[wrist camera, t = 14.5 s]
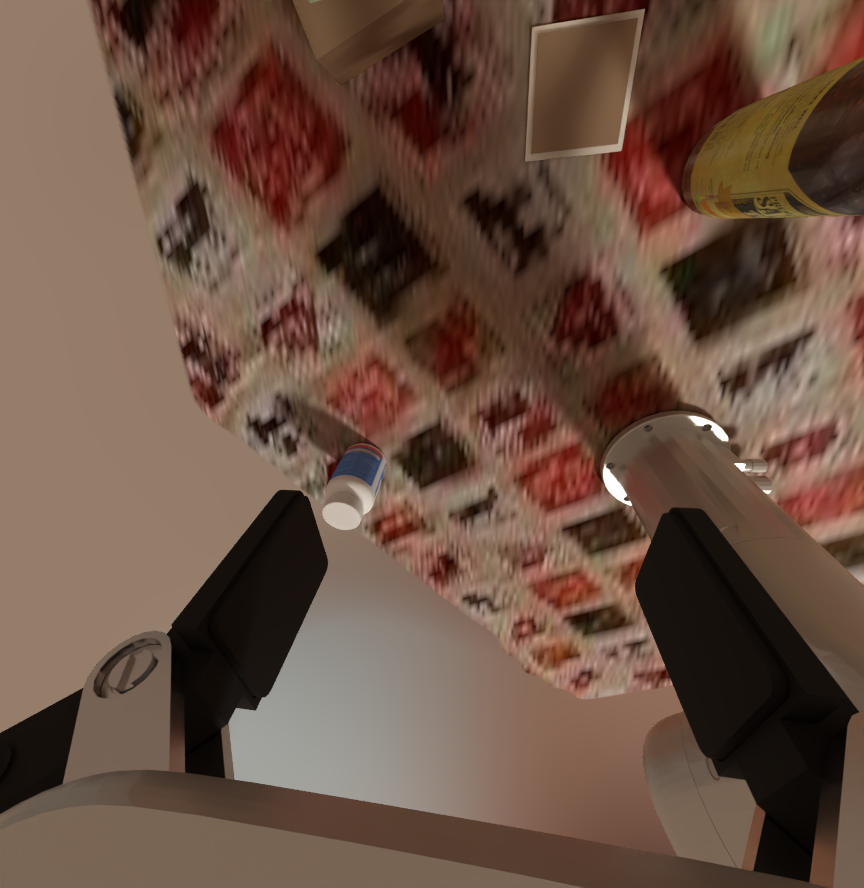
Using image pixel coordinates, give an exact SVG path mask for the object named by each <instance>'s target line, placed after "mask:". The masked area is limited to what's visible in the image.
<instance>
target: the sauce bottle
mask: <svg viewBox="0 0 864 888" xmlns="http://www.w3.org/2000/svg"><path fill="white" fill-rule="evenodd" d="M681 188H682V195H683V198H684V200H685V202H686V203H687V205H688V207H689V208H690V209H691V210H693V211H695V212H697V213H699V214H703V215H706V216H709V217H712V218H718V219H727V218H789V217H814V216H855V215H864V57H863V58H860V59H858V60H855V61H853V62H851V63H848V64H846V65H843V66H841V67H838V68H836V69H834V70H831V71H829V72H826V73H824V74H822V75H819V76H817V77H814V78H812V79H810V80H807V81H805V82H802V83H800V84H797V85H795V86H792V87H790V88H788V89H785V90H783V91H780V92H778V93H775V94H773V95H771V96H768V97H766V98H763V99H761V100H759V101H757V102H754V103H752V104H750V105H747V106H745V107H743V108H741V109H739V110H737V111H736V112H734V113H733V114H731V115H729V116H728V117H726V118H724V119H722V120H721V121H720V122H718V123H717V124H715V125H714V126H713V127H712V128H711V129H710V130H709V131H708V132H707V133H706V134H705V135H704V136H703V137H702V138H701V139H700V140H699V141H698V142H697V144H696V145H695V146H694V148H693V150H692V152H691V153H690V155H689V157H688V160H687V163H686V165H685V167H684V170H683V176H682V185H681Z"/></svg>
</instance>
